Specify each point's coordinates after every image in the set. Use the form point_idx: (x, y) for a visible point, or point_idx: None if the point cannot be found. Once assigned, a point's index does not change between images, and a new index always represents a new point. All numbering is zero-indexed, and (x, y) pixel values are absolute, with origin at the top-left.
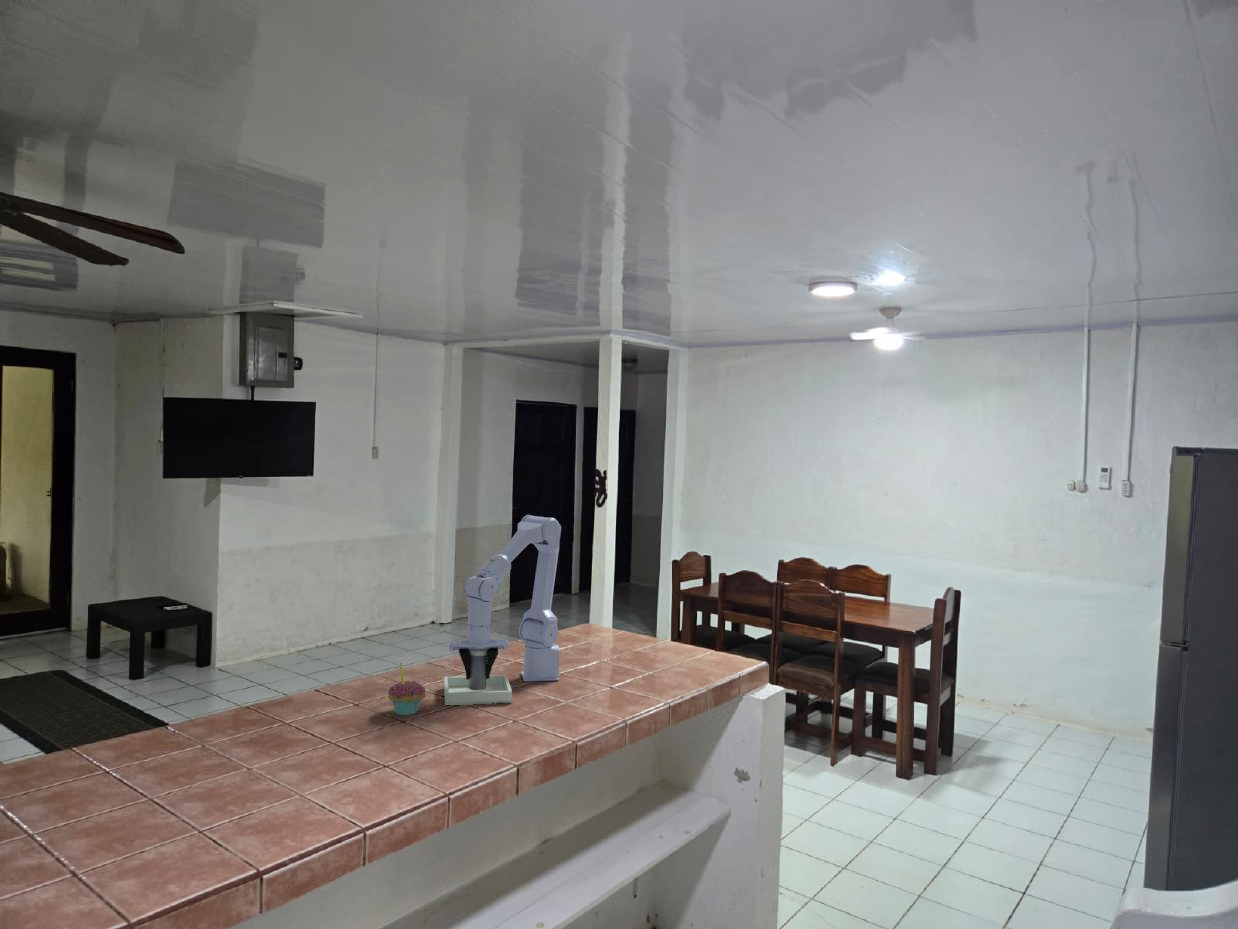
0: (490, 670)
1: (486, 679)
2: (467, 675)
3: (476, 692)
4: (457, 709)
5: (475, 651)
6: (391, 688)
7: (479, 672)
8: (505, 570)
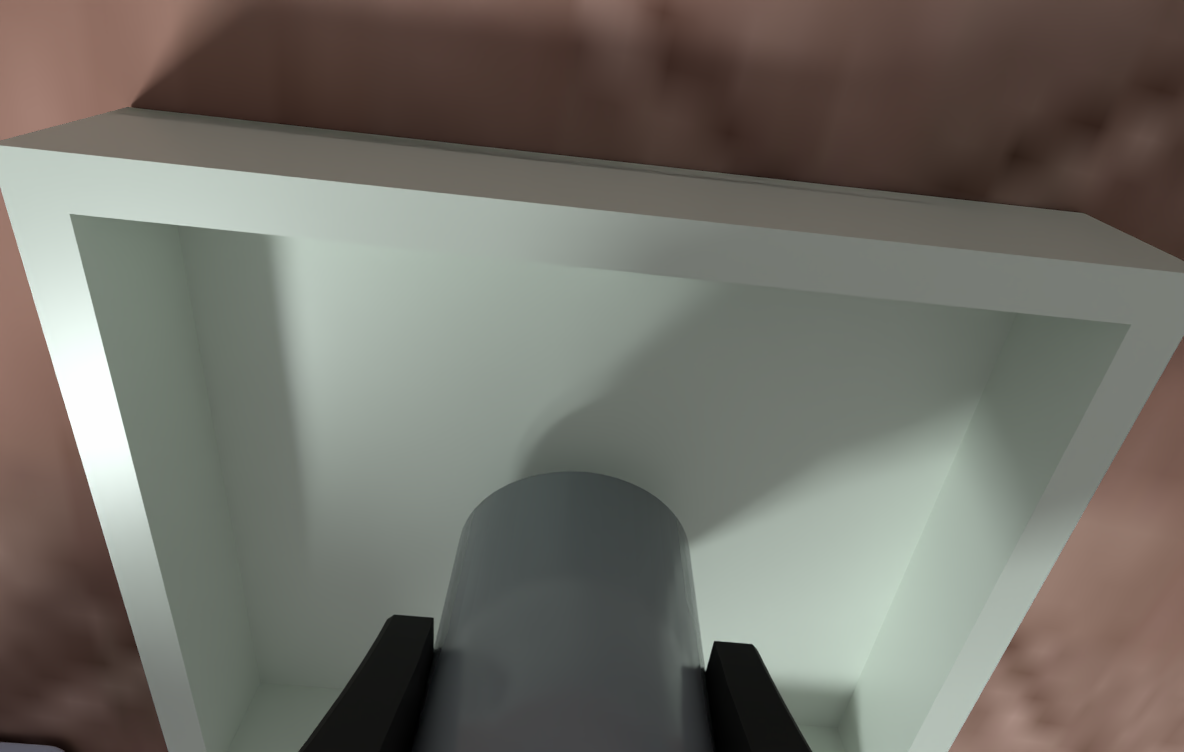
0: (319, 731)
1: None
2: (764, 693)
3: (669, 232)
4: (976, 25)
5: None
6: None
7: (552, 707)
8: None
